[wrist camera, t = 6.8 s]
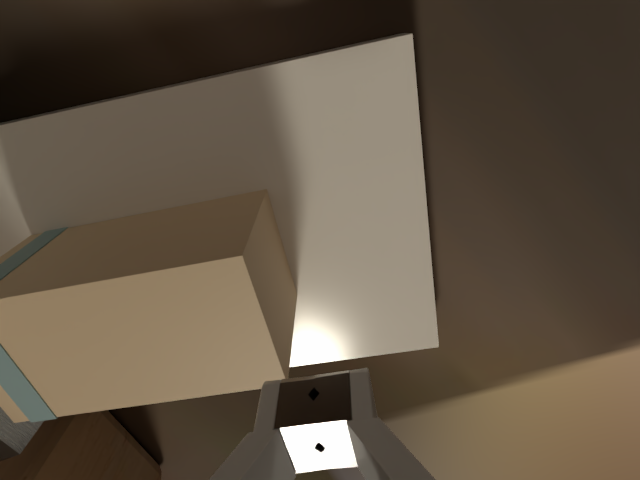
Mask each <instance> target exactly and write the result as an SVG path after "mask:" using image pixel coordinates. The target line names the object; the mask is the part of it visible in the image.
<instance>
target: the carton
mask: <svg viewBox="0 0 640 480" xmlns="http://www.w3.org/2000/svg"><path fill="white" fill-rule="evenodd" d="M296 302H297V292H296V288H295V285H294V281H293V278H292V274H291V271H290V267H289V264H288V261H287V257H286V254H285V250H284V247H283V243H282V240H281V236H280V233H279V229H278V226H277V223H276V219H275V216H274V212H273V209H272V205H271V202H270V198H269V195H268V191H267V189H265V190H260V191H255V192H250V193H245V194H239V195H234V196H229V197H224V198H219V199H214V200H209V201H204V202H199V203H194V204H188V205H183V206H178V207H173V208H168V209H163V210H158V211H153V212H148V213H143V214H138V215H132V216H127V217H122V218H117V219H112V220H107V221H102V222H97V223H92V224H87V225H81V226H76V227H71V228H68V227H64V228H59V229H54V230H49V231H45V232H44V233H41V234H36V235H31V236H29V237H28V238H26V239H25V240H23V241H22V242H21V243H19V244H18V245H16V246H15V247H13V248H12V249H11V250H9V251H8V252H6V253H5V254H4V255H2V256H1V257H0V407H1V408H2V409H3V410H4V412H5V413H6V414H7V415H8V416H9V417H10V419H11V420H12V421H13V422H14V423H18V422H25V421H30V422H38V421H45V420H52V419H57V418H58V417H61V416H68V415H75V414H83V413H90V412H97V411H104V410H111V409H118V408H126V407H133V406H140V405H147V404H154V403H161V402H169V401H176V400H183V399H190V398H197V397H204V396H212V395H219V394H226V393H233V392H240V391H247V390H255V389H262V385H263V384H264V382H265V381H273V380H282V379H288V375H289V366H290V357H291V348H292V339H293V330H294V321H295V311H296Z"/></svg>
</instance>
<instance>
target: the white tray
mask: <svg viewBox="0 0 640 480" xmlns="http://www.w3.org/2000/svg"><path fill="white" fill-rule="evenodd" d="M265 189H267V191H268V195H269V198H270V202H271V205H272V209H273V212H274V216H275V219H276V223H277V226H278V229H279V233H280V236H281V240H282V243H283V247H284V250H285V254H286V257H287V261H288V264H289V267H290V271H291V274H292V278H293V281H294V285H295V288H296V292H297V302H296V311H295V321H294V330H293V339H292V348H291V357H290V366H289V367H294V366H302V365H309V364H316V363H324V362H331V361H339V360H346V359H353V358H361V357H368V356H376V355H383V354H390V353H398V352H405V351H413V350H420V349H427V348H435V347H439V343H438V331H437V319H436V307H435V295H434V283H433V272H432V260H431V248H430V236H429V224H428V212H427V200H426V188H425V176H424V164H423V153H422V141H421V129H420V117H419V105H418V93H417V81H416V69H415V57H414V46H413V34H411V33H401V34H396V35H392V36H387V37H383V38H378V39H374V40H369V41H365V42H360V43H356V44H351V45H347V46H343V47H338V48H334V49H329V50H325V51H320V52H316V53H311V54H307V55H302V56H298V57H293V58H289V59H284V60H280V61H275V62H271V63H266V64H262V65H257V66H253V67H249V68H244V69H240V70H235V71H231V72H226V73H222V74H217V75H213V76H208V77H204V78H199V79H195V80H190V81H186V82H181V83H177V84H172V85H168V86H163V87H159V88H154V89H150V90H146V91H141V92H137V93H132V94H128V95H123V96H119V97H114V98H110V99H105V100H101V101H96V102H92V103H87V104H83V105H78V106H74V107H69V108H65V109H60V110H56V111H52V112H47V113H43V114H38V115H34V116H29V117H25V118H20V119H16V120H11V121H7V122H2V123H0V257H1V256H2V255H4V254H5V253H6V252H8V251H9V250H11V249H12V248H13V247H15V246H16V245H18V244H19V243H21V242H22V241H23V240H25V239H26V238H28V237H29V236H31V235H36V234H41V233H44V232H45V231H49V230H54V229H59V228H64V227H68V228H71V227H76V226H81V225H87V224H92V223H97V222H102V221H107V220H112V219H117V218H122V217H127V216H132V215H138V214H143V213H148V212H153V211H158V210H163V209H168V208H173V207H178V206H183V205H188V204H194V203H199V202H204V201H209V200H214V199H219V198H224V197H229V196H234V195H239V194H245V193H250V192H255V191H260V190H265Z"/></svg>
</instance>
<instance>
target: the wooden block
mask: <svg viewBox="0 0 640 480" xmlns="http://www.w3.org/2000/svg"><path fill="white" fill-rule="evenodd" d="M0 480H161V469H160V466H159V465H158V464H157V463H156V462H155V460H154V459H153V458H152V457H151V456H150V455H149V454H148V453H147V452H146V451H145V450H144V449H143V448H142V447H141V445H140V444H139V443H138V442H137V441H136V440H135V439H134V438H133V437H132V436H131V435H130V434H129V433H128V432H127V430H126V429H125V428H124V427H123V426H122V425H121V424H120V423H119V422H118V421H117V420H116V419H115V418H114V417H113V415H112V414H111V413H110V412H109V411H108V410H104V411H97V412H90V413H83V414H75V415H68V416H61V417H58V418H57V419H52V420H45V421H44V422H43V423H42V425H41V426H40V427H39V429H38V430H37V431H36V433H35V434H34V436H33V437H32V438H31V440H30V441H29V443H28V444H27V445H26V447H25V448H24V449H23V451H22V452H21V454H19V455H17V456H14V457H11V458H8V459H6V460H3V461H0Z"/></svg>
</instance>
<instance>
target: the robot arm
mask: <svg viewBox="0 0 640 480" xmlns="http://www.w3.org/2000/svg"><path fill="white" fill-rule="evenodd" d="M348 467H358V469H359V470H360V472H361V473H362V475H363V476H364V478H365V479H366V480H435V479H434V477H433V476H432V475H431V474H430V473H429V472H428V471H427V470H426V469H425V468H424V467H423V466H422V464H421V463H420V462H419V461H418V460H417V459H416V458H415V457H414V455H413V454H412V453H411V452H410V451H409V450H408V449H407V448H406V447H405V445H403V443H402V442H401V441H400V440H399V439H398V438H397V437H396V436H395V434H394V433H393V432H392V431H391V430H390V429H389V428H388V427H387V426H386V425H385V423H384V422H383V421H382V420H381V419H380V418H379V417H378V418H377V412H376V406H375V401H374V395H373V390H372V385H371V380H370V375H369V370H368V368H363V369H356V370H348V371H342V372H335V373H328V374H321V375H316V376H307V377H298V378H288V379H282V380H273V381H265V382H264V384H263V385H262V389H261V394H260V400H259V405H258V410H257V416H256V421H255V426H254V432H251V433H248V434H247V435H246V436H245V437H244V439H243V440H242V441H241V442H240V443H239V445H238V446H237V447H236V448H235V449H234V451H233V452H232V453H231V454H230V455H229V457H228V458H227V459H226V460H225V461H224V463H223V464H222V465H221V466H220V467H219V468H218V470H217V471H216V472H215V473H214V474H213V476H212V477H211V478H210V479H209V480H294V478H295V477H296V474H295V473H302V472H309V471H316V470H324V469H335V468H348Z"/></svg>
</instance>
